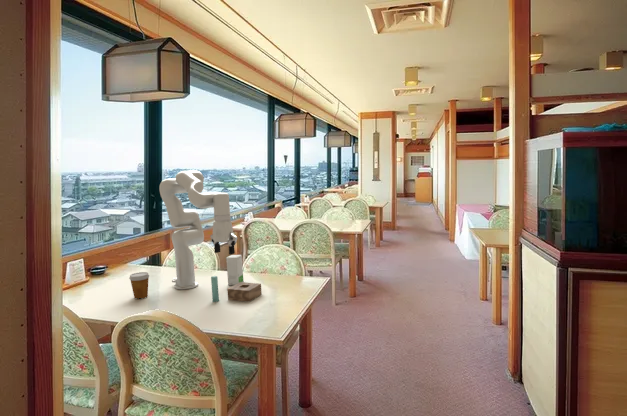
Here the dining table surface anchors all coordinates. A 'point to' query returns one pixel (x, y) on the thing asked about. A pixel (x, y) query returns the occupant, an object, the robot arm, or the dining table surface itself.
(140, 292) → the disposable coffee cup
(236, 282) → the skincare box
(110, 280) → the dining table surface
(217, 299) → the peg
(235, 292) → the socket block
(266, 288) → the dining table surface
